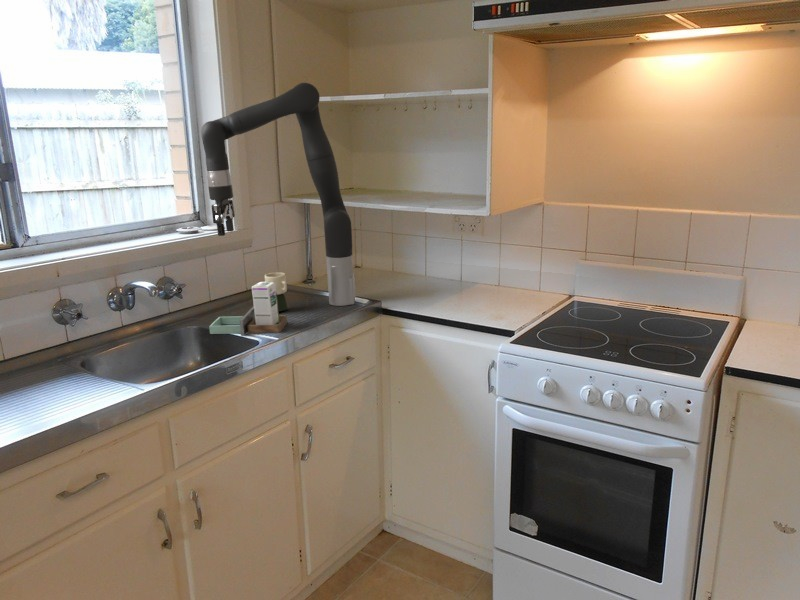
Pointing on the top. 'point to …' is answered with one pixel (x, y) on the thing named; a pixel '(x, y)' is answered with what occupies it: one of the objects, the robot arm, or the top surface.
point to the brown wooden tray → (267, 326)
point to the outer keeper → (228, 329)
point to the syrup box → (265, 303)
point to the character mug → (279, 288)
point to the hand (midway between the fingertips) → (226, 233)
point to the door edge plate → (246, 321)
